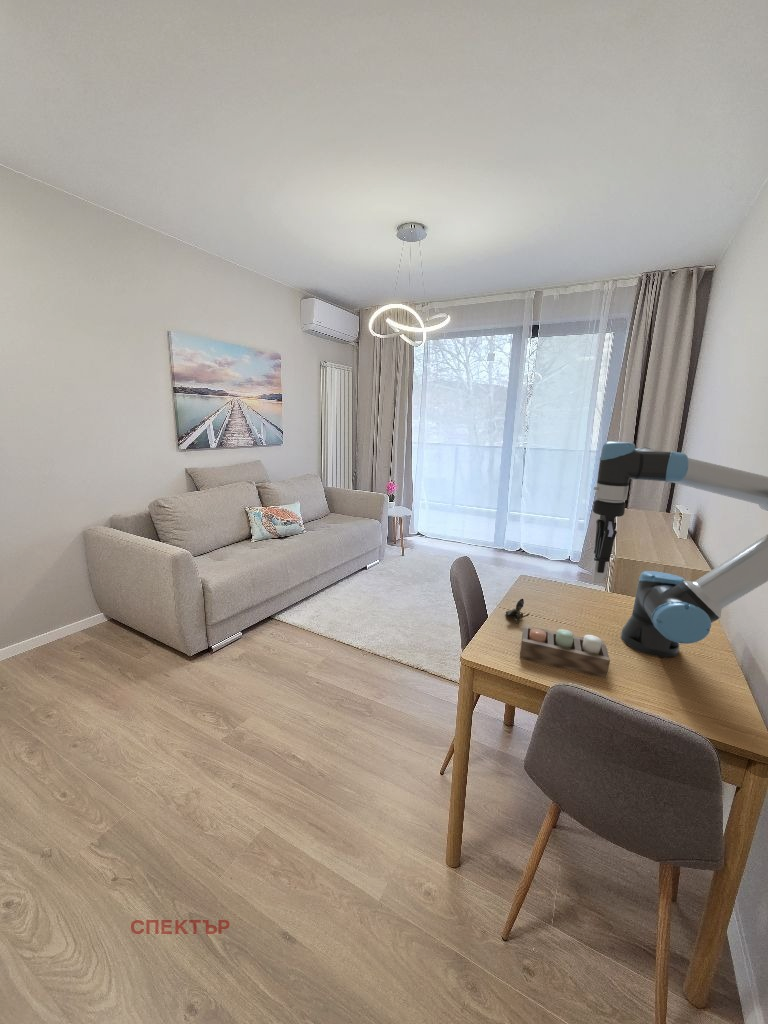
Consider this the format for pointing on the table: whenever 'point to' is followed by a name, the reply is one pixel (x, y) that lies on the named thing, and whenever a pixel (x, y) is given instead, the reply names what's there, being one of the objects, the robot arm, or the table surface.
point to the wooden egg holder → (564, 654)
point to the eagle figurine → (517, 611)
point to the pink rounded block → (537, 635)
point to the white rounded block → (591, 644)
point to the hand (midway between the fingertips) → (597, 581)
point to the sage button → (564, 638)
